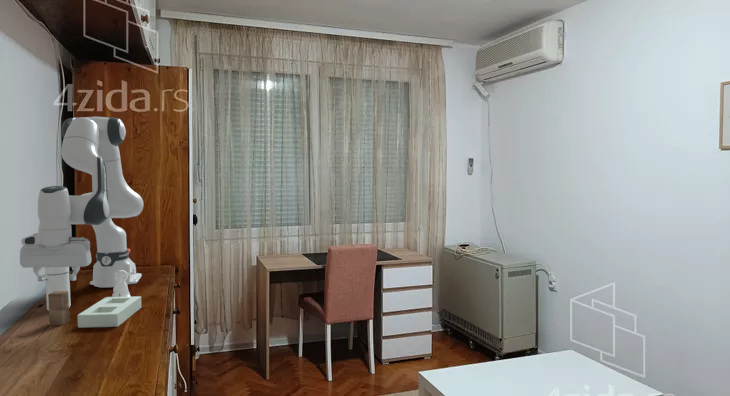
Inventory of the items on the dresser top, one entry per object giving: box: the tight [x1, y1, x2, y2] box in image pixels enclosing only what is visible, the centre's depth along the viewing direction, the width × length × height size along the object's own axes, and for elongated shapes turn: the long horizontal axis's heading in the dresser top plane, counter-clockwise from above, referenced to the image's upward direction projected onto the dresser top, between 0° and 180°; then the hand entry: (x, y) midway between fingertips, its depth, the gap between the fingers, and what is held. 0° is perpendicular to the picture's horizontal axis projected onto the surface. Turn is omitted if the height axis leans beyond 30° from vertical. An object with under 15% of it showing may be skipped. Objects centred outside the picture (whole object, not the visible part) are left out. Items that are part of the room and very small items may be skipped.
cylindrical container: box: [44, 267, 72, 311], centre depth 171 cm, size 7×7×25 cm
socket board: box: [77, 295, 142, 329], centre depth 162 cm, size 20×12×4 cm, turn 5°
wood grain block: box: [48, 291, 71, 326], centre depth 156 cm, size 4×4×10 cm
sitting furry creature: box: [111, 270, 132, 297], centre depth 178 cm, size 10×9×12 cm
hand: (57, 280), depth 155 cm, fingers open, 8 cm apart
